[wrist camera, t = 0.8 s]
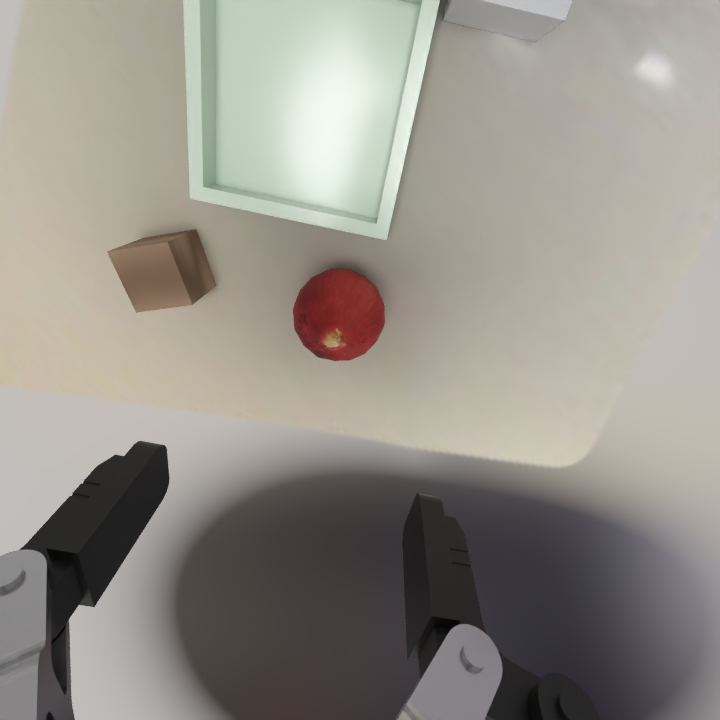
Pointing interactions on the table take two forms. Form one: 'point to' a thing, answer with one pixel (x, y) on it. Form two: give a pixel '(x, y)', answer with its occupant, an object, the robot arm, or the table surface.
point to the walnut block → (163, 270)
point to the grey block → (509, 16)
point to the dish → (304, 105)
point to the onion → (338, 315)
